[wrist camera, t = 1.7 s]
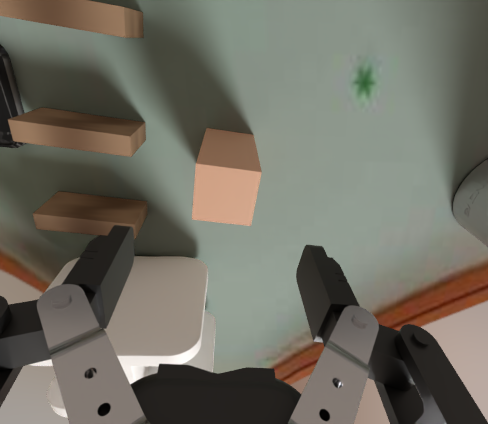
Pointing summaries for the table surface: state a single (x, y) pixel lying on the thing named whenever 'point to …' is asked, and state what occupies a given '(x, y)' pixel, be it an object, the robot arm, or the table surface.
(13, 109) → the phone
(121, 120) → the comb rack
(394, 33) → the table surface
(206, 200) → the plug block
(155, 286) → the cable organizer
